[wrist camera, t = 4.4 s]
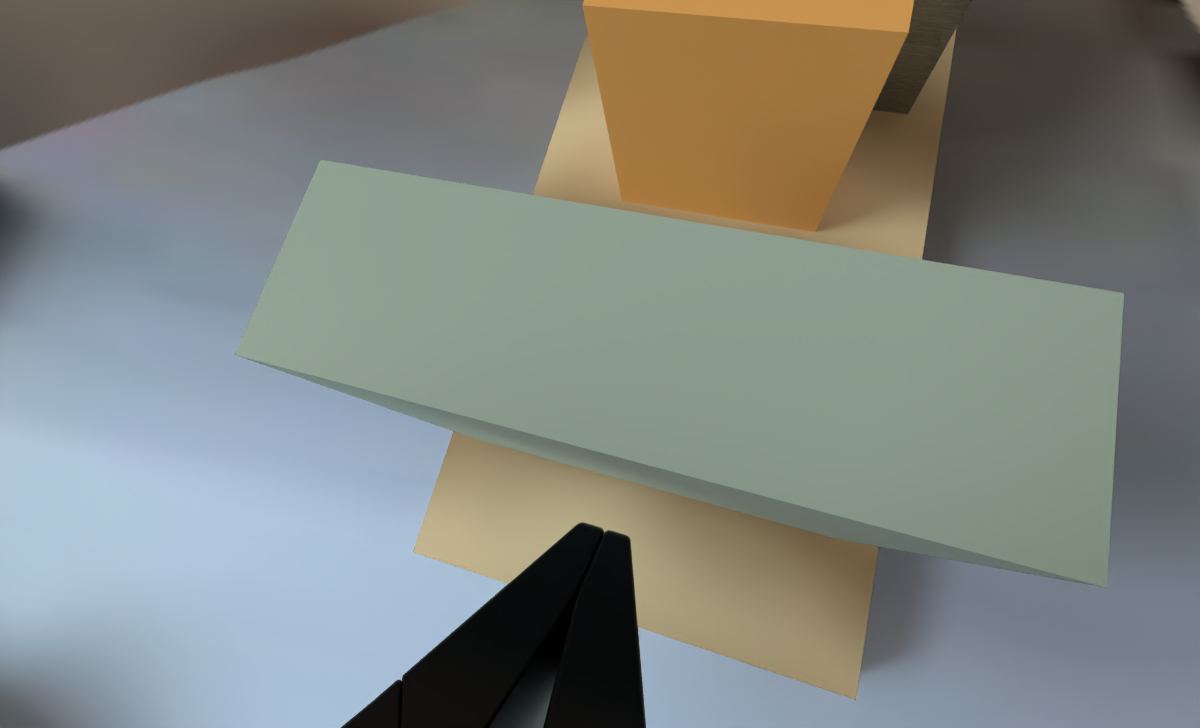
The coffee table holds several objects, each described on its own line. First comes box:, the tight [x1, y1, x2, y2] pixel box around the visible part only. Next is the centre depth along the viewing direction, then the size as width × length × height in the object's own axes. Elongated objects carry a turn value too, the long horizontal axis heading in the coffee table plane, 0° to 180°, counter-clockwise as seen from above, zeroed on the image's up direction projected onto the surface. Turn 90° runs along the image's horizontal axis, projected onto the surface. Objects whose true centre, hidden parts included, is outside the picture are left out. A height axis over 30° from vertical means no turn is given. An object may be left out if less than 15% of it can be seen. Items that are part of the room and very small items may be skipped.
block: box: [583, 0, 914, 232], centre depth 14 cm, size 3×6×7 cm, turn 75°
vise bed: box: [413, 28, 957, 700], centre depth 17 cm, size 20×12×2 cm, turn 164°
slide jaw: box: [235, 160, 1124, 588], centre depth 11 cm, size 3×10×9 cm, turn 74°
